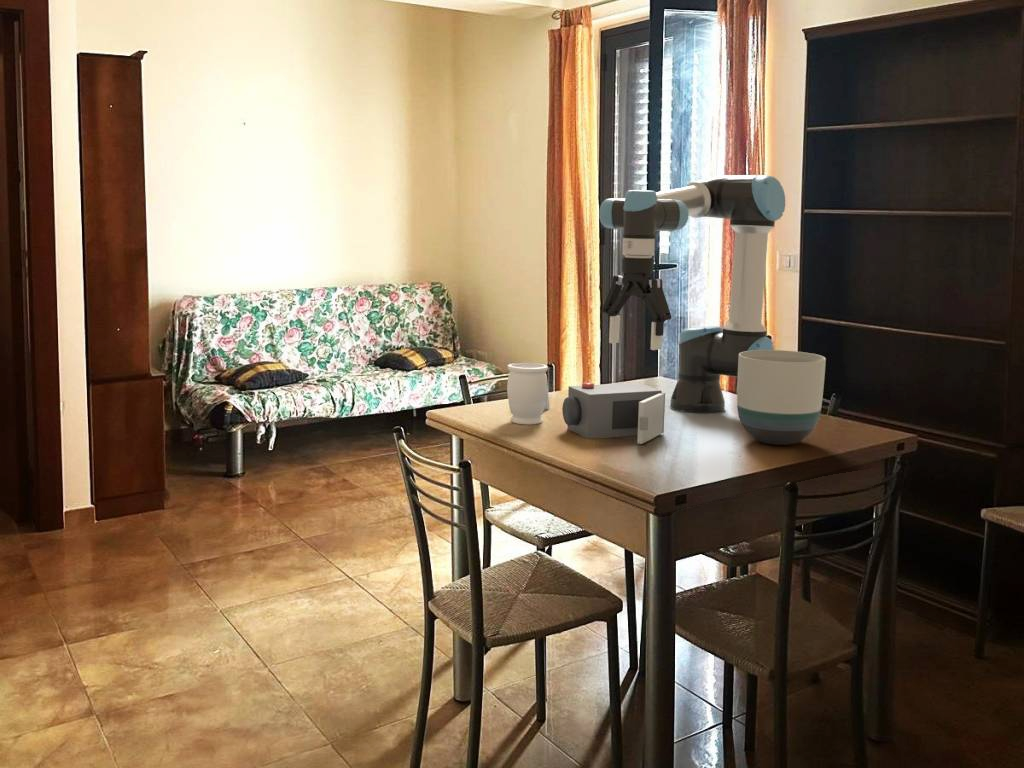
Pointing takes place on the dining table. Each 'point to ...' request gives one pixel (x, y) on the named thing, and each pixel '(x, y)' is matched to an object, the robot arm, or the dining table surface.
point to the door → (651, 418)
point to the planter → (779, 394)
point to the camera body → (605, 409)
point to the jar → (527, 392)
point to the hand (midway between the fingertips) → (634, 346)
